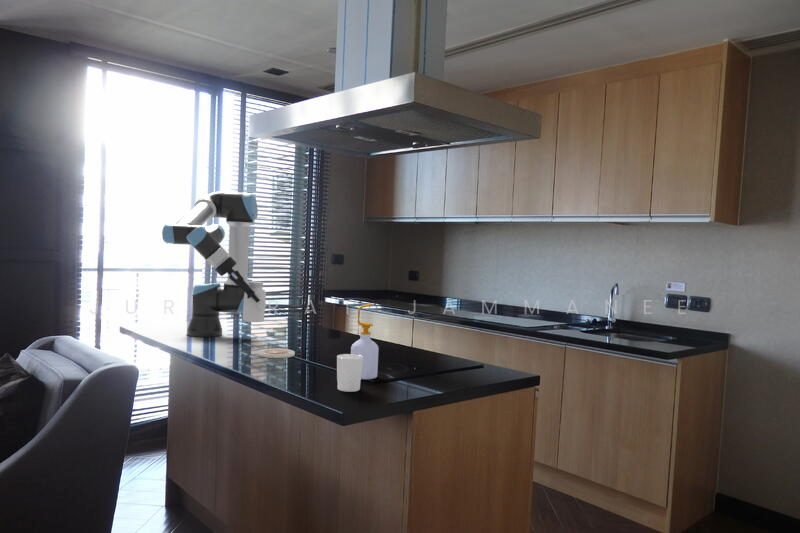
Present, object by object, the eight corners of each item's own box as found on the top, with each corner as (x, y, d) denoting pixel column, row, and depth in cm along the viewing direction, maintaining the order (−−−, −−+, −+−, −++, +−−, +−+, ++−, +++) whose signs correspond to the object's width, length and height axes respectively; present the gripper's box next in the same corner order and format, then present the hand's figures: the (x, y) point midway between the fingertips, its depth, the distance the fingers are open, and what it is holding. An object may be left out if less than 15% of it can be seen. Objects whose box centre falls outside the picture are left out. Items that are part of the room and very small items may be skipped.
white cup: (356, 393, 171) (358, 359, 171) (331, 390, 173) (333, 357, 173) (365, 387, 179) (366, 355, 179) (341, 385, 181) (342, 353, 181)
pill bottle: (260, 323, 217) (263, 282, 217) (239, 321, 218) (242, 281, 217) (266, 320, 225) (269, 282, 225) (246, 319, 226) (248, 280, 225)
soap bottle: (377, 380, 190) (381, 305, 189) (349, 379, 189) (353, 304, 189) (376, 374, 199) (380, 302, 198) (350, 373, 198) (353, 301, 198)
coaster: (256, 351, 229) (256, 348, 229) (291, 351, 233) (292, 347, 233) (259, 358, 215) (259, 354, 215) (297, 358, 220) (297, 354, 220)
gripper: (214, 267, 226) (254, 310, 232) (213, 270, 207) (257, 316, 212) (229, 254, 228) (269, 297, 233) (230, 256, 208) (273, 302, 213)
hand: (263, 306), depth 222 cm, fingers closed on pill bottle, 8 cm apart
